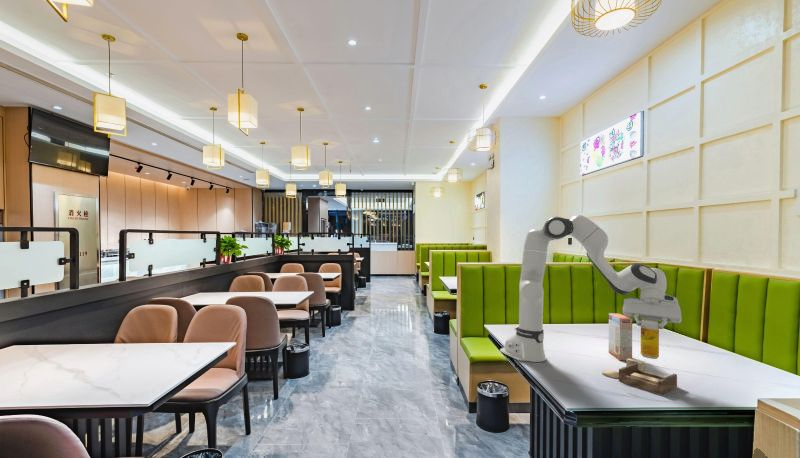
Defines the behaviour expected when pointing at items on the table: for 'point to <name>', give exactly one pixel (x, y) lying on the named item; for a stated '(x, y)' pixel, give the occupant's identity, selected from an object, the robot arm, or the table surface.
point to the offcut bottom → (645, 378)
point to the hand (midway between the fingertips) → (649, 326)
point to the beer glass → (649, 339)
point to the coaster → (611, 374)
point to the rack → (663, 384)
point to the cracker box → (620, 336)
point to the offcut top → (632, 361)
